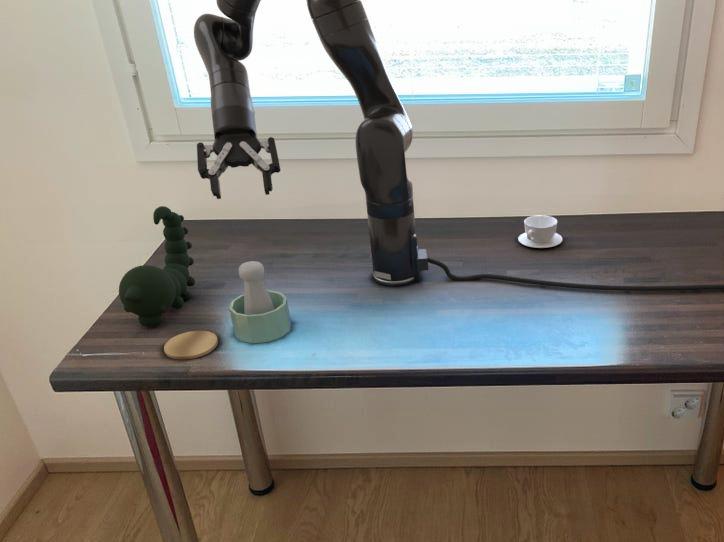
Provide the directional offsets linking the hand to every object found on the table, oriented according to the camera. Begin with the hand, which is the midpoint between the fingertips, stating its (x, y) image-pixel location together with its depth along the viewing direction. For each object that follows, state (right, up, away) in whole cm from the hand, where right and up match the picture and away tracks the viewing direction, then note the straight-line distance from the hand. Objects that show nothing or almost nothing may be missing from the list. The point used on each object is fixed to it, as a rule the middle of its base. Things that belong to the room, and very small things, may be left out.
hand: (243, 194), depth 134 cm
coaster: (-8, -27, -3) cm, 29 cm away
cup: (+3, -24, +1) cm, 25 cm away
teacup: (+57, -3, +34) cm, 66 cm away
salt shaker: (+3, -24, +1) cm, 25 cm away
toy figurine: (-17, -20, +9) cm, 28 cm away
